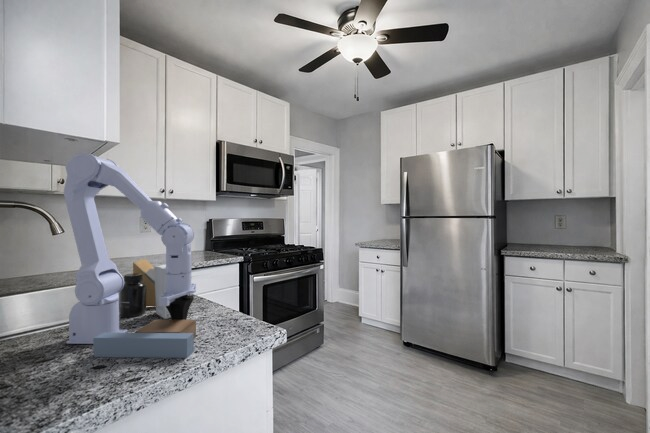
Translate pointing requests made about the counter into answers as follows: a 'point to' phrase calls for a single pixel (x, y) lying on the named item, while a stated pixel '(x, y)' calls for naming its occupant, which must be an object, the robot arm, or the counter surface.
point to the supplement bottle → (133, 296)
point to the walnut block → (169, 327)
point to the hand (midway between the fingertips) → (179, 326)
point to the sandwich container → (147, 279)
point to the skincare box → (160, 290)
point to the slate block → (144, 345)
